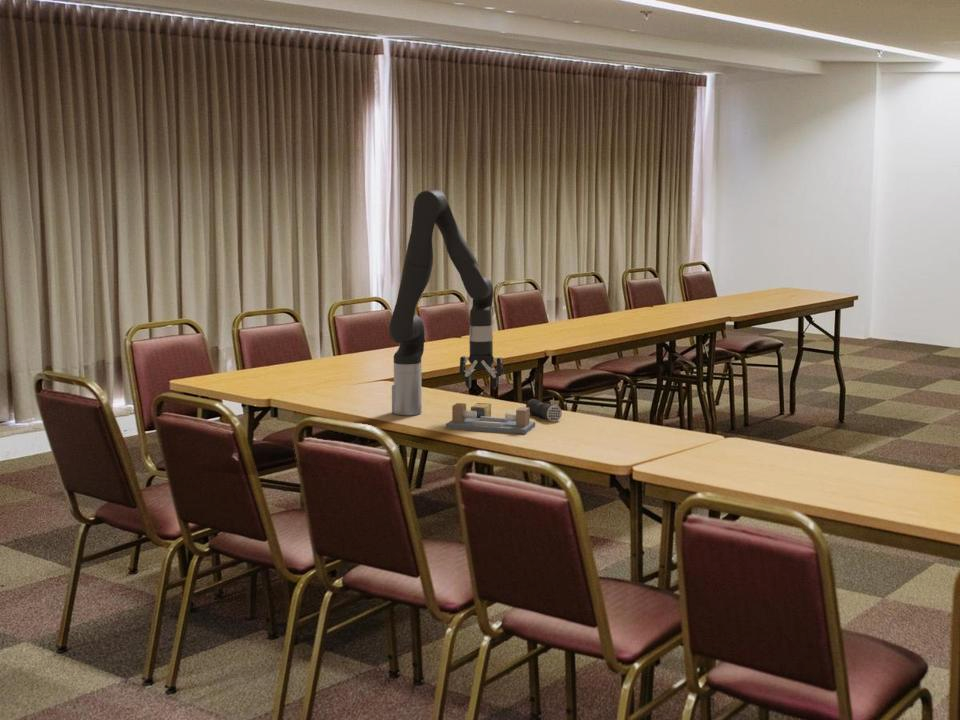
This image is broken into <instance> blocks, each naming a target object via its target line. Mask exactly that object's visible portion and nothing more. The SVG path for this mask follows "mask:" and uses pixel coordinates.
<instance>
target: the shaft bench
mask: <svg viewBox="0 0 960 720" xmlns="http://www.w3.org/2000/svg"><path fill="white" fill-rule="evenodd" d="M451 407H452V408H451V411H452V412H451V415H452V417H451V418H452V419H451V420H449V421H448V422H447V423H445V429H446V428H451V429H450V430H458V429H461V430H462V431H473V432H474V431H475V432H489V433H490V432H491V433H501V432H506V433H505V434H515V433H523V434H522V435H527V434H528V433H529V432H530V431H531V430H533V429H534V428H535V427H536V421H530V418H531V417H530V415H531V414H530V408H528V407H526V406H525V407H524V406H520V407H519V408H516V411H515V413H511V412H506V413H505V414H504V417H500V416H499V417H495V416H491V417H484V416H481V417H480V418H476V417H477V412H476V411H471V410H467V403H462V402H457V403H455V404H453V405H452V406H451ZM532 428H533V429H532ZM528 431H529V432H528ZM527 432H528V433H527Z"/></svg>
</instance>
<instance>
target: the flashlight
mask: <svg viewBox="0 0 960 720" xmlns="http://www.w3.org/2000/svg"><path fill="white" fill-rule="evenodd" d="M525 407H528V408H530V415H533V416H540V417H541V418H542V419H545V420H546V421H549V422H551V421H554V422H558V421H559V420H561V418H562V415H563V414H562V408H561V407H560V406H559V405H556V404H554V403H553V404H552V403H544V402H542V401H541V400H539V399H535V398H532V399H530V400H527V402H526V404H525Z"/></svg>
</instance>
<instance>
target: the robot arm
mask: <svg viewBox="0 0 960 720" xmlns="http://www.w3.org/2000/svg"><path fill="white" fill-rule="evenodd" d="M411 218H412V220H411V227H410V228H411V229H410V234H409V239H408V244H407V247H406V248H407V249H406V252H405V253H406V254H405V257H404V261H403V267H402V272H401V273H402V274H401V279H400V283H399V288H398V292H397V293H398V294H397V298H396V302H395V306H394V307H393V311H392V315H391V318H390V321H389V325H388V326H389V327H388V330H389V331H388V332H389V336H390V338H391V340H392V341H393V342H394V343H396V344H399V347H398V349H397V350H396V351H395V353H394V355H393V384H392V385H391V414H392V413H394V415H397V416H398V415H399V416H416V415H420V414H422V400H423V399H422V358H423V355H424V352H425V351H424V349H425V325H424V322H423V320H422V318H421V317H420V316H419V315H417V314H415V312H416V309H417V304H418V303H419V300H420V298H421V297H422V295H423V293H424V292H425V290H426V288H427V286H428V284H429V281H430V279H431V274H432V269H433V264H434V249H433V232H434V228H435V225H436V226H437V228H438V230H439V231H440V233H441V236H442V238H443V241H444V245H445V248H446V252H447V254H448V257H449V259H450V260H451V262H452V264H453V266H454V267H455V269H456V270H457V273H458V274H459V275H460V279H461V282H462V284H463V287H464V289H465V292H466V293H467V294H468V296H469V297H470V298H471V299H472V306H471V309H470V311H469V333H468V334H469V337H468V339H469V342H468V343H469V356H466V355H462V356H461V357H459V374H460V375H461V376H464V377H465V381H464V382H465V386H466V388H467V389H471V388H472V373H473V372H474V371H480V370H481V371H487V372H488V374H490V375H491V377H492V378H491V389H492V390H496V389H497V387H498V385H499V384H498V383H499V382H498V377H501V376H503V375H504V364H503V363H504V362H503V360H504V359H503V357H502V356H499V357H494V356H493V353H494V352H493V351H494V350H493V349H494V348H493V345H494V343H493V339H494V335H493V326H492V325H493V323H492V320H493V319H492V308H493V307H492V306H493V298H494V286H493V283H492V282H491V280H490V279H489V278H487V277H485V276H482V274H481V271H480V270H479V262H478V261H477V259H476V257H475V255H474V253H473V252H472V250H471V248H470V247H469V245H468V244H467V241H466V240H465V238H464V236H463V234H462V232H461V230H460V229H459V225H458V223H457V221H456V219H455V216H454V214H453V211H452V209H451V207H450V204H449V201H448V199H447V196H446V194H444V193H443V192H442V191H441V190H439V189H427V190H423V191H420V192H419V193H418V194H417V196H416V197H415V199H414V201H413V208H412V217H411ZM468 361H469V363H470V366H469V367H468V369H467V371H466V366H467V365H466V364H467V363H468ZM493 363H495V365H497V366H496V368H497V370H496V369H495V367H494V366H493Z"/></svg>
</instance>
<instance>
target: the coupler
mask: <svg viewBox="0 0 960 720" xmlns="http://www.w3.org/2000/svg"><path fill="white" fill-rule="evenodd" d="M470 411H476V412H477V417H476V418H480V417H481V416H484V417H492V404H491V403H484V402H483V403H482V402H477V403H476V404H474V405H472V406H471V407H470Z"/></svg>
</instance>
